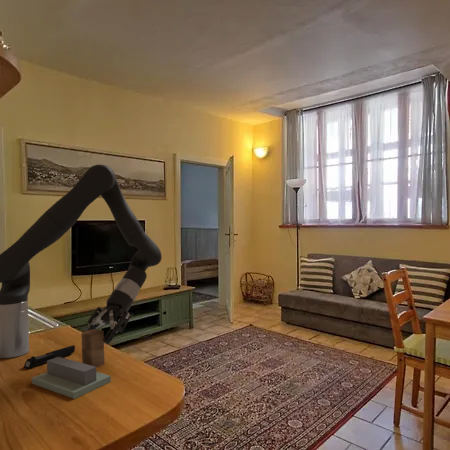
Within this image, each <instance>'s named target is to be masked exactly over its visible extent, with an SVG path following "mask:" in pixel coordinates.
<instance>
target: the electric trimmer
mask: <svg viewBox="0 0 450 450" xmlns="http://www.w3.org/2000/svg"><path fill="white" fill-rule="evenodd" d="M75 346H76V345H74V344H73V345H69V346H65V347H63V348H59V349H55V350H53V351H50V352H45V354H41V355H37V356H30V358H27V360H26V361H25V363H24V365H23V368H25V369H27V370H32V369H34V368H35V367H37V366H39V365H43V364H47V361H48V360H51V359H54V358H56V357H62V358H65V357H67V356H69V355H71V354H74V353H75V349H76V347H75Z"/></svg>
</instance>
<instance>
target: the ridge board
mask: <svg viewBox="0 0 450 450" xmlns="http://www.w3.org/2000/svg"><path fill="white" fill-rule="evenodd" d="M111 382H112V376H111V375H109V374H105V373H102V372H99V371H97V367H95V366H91V365H87V364H84V363H82V362H79V361H76V360H72V359H68V358H65V357H56V358H54V359H51V360H48V361H47V362H46V372H44V373H41V374H39V375H36V376H32V378H31V384H33V385H34V386H37V387H40V388H44V389H45V390H49V391H52V392H55V393H56V394H60V395H62V396H65V397H68V398H71V399H73V400H74V399H77V398H79V397H81V396H84V395H85V394H88V393H90V392H92V391H94V390H96V389H98V388H101V387H102V386H104V385H106V384H109V383H111Z"/></svg>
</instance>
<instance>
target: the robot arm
mask: <svg viewBox="0 0 450 450" xmlns="http://www.w3.org/2000/svg"><path fill="white" fill-rule="evenodd" d="M118 182H119V181H118V180H117V176H116V173H115V171H114V170H113V169H112V168H111V167H110V166H109V165H108V166H107V165H105V164H95V165H92V166H90V167H89V168H88V169H87V170H86V171H85V173H84V174H83V175H82V177H80V179H79V180H78V181H77V182H76V183H75V185H74V186H73V187H72V188H71V189H70V190H69V191H68V192H66V194H64V195H63V196H62V197H61V198H59V199H58V200H57V201H56V202H54V203H53V204H52V205H50V207H49V208H48V209H47V210H46V211H44V212H43V214H41V216H39V218H37V220H35V222H34V223H33V224H32V225H31V226H30V227H29V228H28V229H27V230H26V231H25V232H24V233H23V234H22V235H21V236H20V237H19V238H18V239H17V240H16V241H15V242H14V243H13V244H11V245H10V246H9V247H7V248H6V249H5V250H4V251H3V252H2V253H0V283H1V287H0V359H10V358H16V357H20V356H24V355H26V354H27V353H29V352H30V337H29V336H30V333H29V332H30V331H29V330H30V328H29V326H30V325H29V294H30V288H31V265H30V261H31V260H32V259H33V258H34V257H35V256H36V255H38V254H39V253H41V252H43V250H45V249H48V248H49V247H50V246H52V245H53V244H54V243H56V242H57V241H59V240H60V239H61V238H62V237H63V236H64V235H65V234H66V233H67V232H69V230H70V229H72V228H73V226H74V225H75V224H76V223H77V221H78V220H79V218H81V216H82V214H83V213H84V211H85V210H86V209H87V208H88V207H89V206H90V205H91V204H92V203H94V201H95V200H97V199H98V198H99V197H102V199H103V201H104V202H105V203H106V205H107V207H108V208H109V210H110V212H111V214H112V216H113V219H114V221H115V223H116V226H117V227H118V230H119V232H120V233H121V235H122V236H123V238H124V240H125V241H126V243H127V244H128V245H129V246H131V247H135V248H136V249H137V251H136V252H135V253H134V255H133V256H132V257H131V260H130V262H129V265H128V269H127V270H126V272H125V273H124V275H123V276H122V278H121V280H119V282H118V283H117V284H116V286H115V288H114V289H113V291H112V292H111V293H110V295H109V297H108V298H107V300H106V303H105V304H106V306H105V307H104V308H101V307H100V306H98V307H97V308H95V310H94V312H93V313H92V314H91V315H90V317H89V319H88V320H87V324H88V325H89V327H88V328H87V331H89V330H92V329H96V330H98V328H100V327H101V326H102V327H103V326H104V325H109V326H110V329H108V331H107V332H106V334H105V335H104V339H103V341H104V344H105V345H109V344H110V343H111V342H112V340H113V339H114V337H115V335H117V333H119V332H120V333H123V332H124V330H125V328H126V326H127V324H128V323H129V321H130V319H131V317H132V315H131V314H130V312H129V310H130V308H131V307H132V305H133V303H134V302H135V300H136V299H137V296H138V294H139V293H140V291H141V288H142V287H143V285H144V284H145V281H146V280H147V276H148V275H147V273H146V271H147V270H148V268H150V267H151V268H152V267H154V266H155V267H156V266H157V265H158V264H160V263H161V261H162V252H161V249H160V248H159V246H158V245H157V244H156V243H155V241H153V239H152V238H151V237H150V236H149V235H148V234H147V233H146V232H145V230H144V228H143V227H142V225H141V223H140V222H139V220H138V219H137V217H136V215H135V213H134V212H133V210H132V209H131V207H130V205H129V203H128V202H127V200H126V198H125V197H124V194H123V192H122V190H121V188H120V185H119V183H118Z"/></svg>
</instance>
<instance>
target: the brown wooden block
mask: <svg viewBox="0 0 450 450" xmlns="http://www.w3.org/2000/svg"><path fill="white" fill-rule="evenodd" d="M104 337H105V333H104V330H101V329H92V330H89V331H84V332H81V355H82V356H81V357H82V359H81V360H82V362H81V363H84V364H87V365H91V366H95V367H96V368H98V367H101V366H103V365H105V342H104V341H103V339H104Z"/></svg>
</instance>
